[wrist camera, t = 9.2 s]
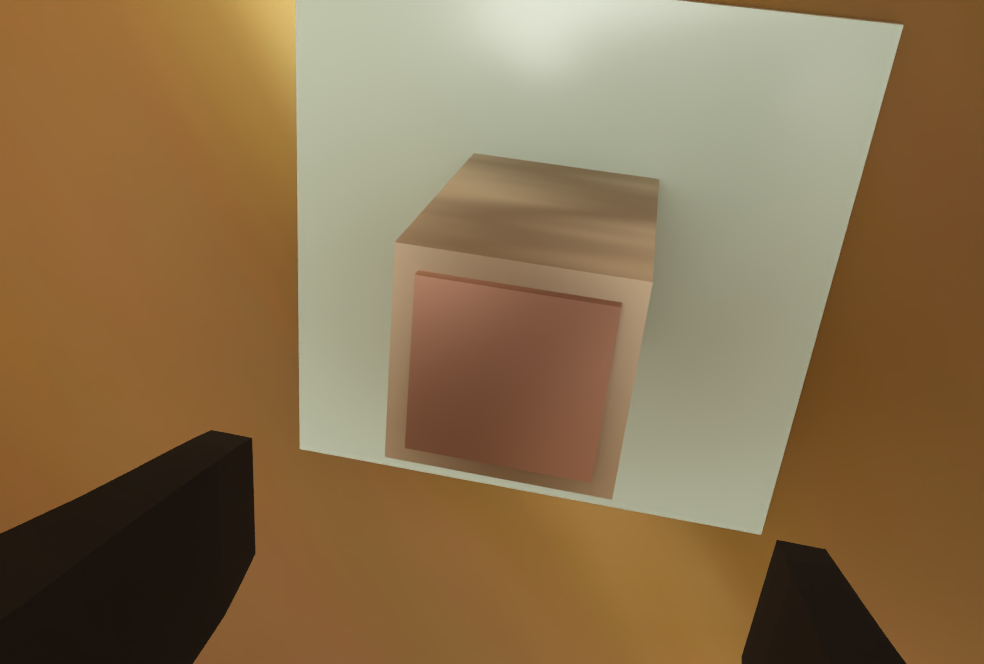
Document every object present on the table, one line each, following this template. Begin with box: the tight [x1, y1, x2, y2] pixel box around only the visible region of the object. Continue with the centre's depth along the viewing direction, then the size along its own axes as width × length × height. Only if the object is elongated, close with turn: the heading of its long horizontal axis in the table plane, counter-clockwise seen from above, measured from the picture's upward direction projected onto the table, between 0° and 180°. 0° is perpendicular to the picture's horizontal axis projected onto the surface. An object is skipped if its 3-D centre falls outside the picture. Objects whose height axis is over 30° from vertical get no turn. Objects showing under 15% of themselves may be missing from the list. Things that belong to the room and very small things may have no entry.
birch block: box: [385, 153, 659, 500], centre depth 17 cm, size 4×4×6 cm
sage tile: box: [296, 0, 903, 535], centre depth 20 cm, size 12×12×1 cm
